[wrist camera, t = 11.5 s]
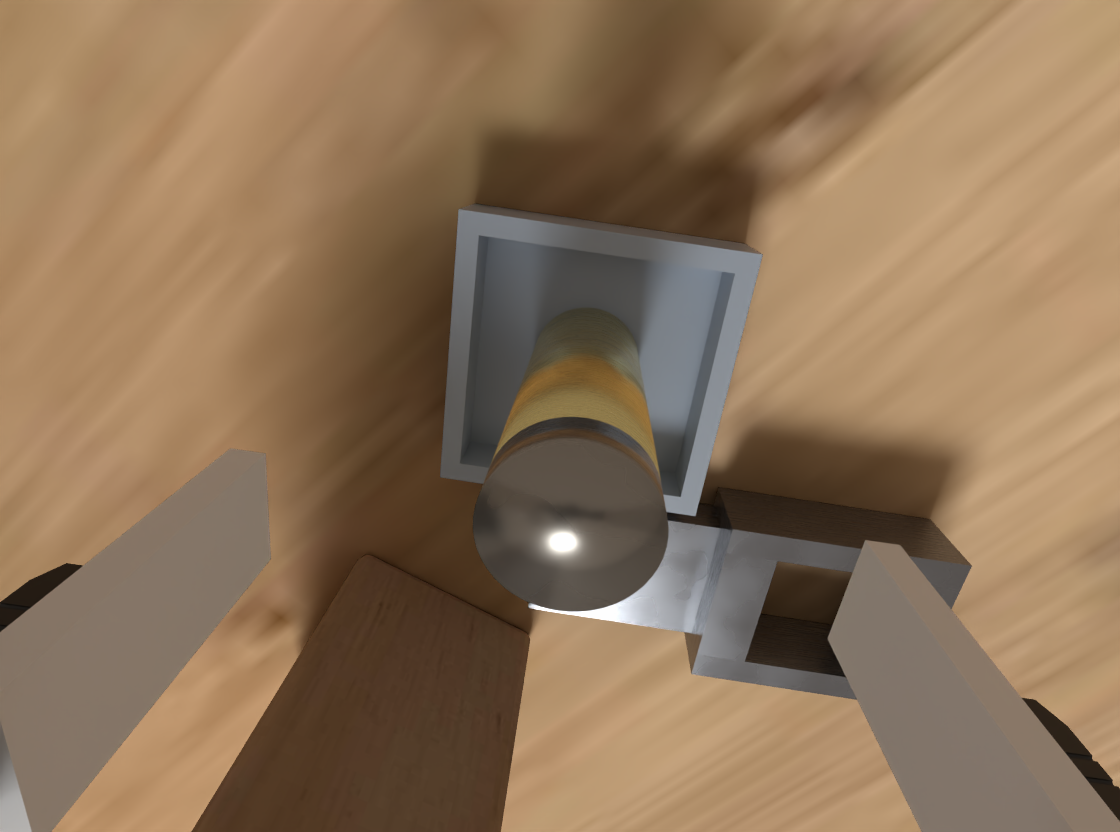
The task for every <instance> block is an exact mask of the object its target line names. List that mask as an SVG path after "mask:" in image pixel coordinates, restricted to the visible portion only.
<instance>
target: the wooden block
mask: <svg viewBox="0 0 1120 832" xmlns="http://www.w3.org/2000/svg"><path fill="white" fill-rule="evenodd" d="M529 644H530V638H529V636H528V635H527V634H526V633H525V632H524V631H522V630H520V629H518V628H516V627H514V626H512V625H510V624H508V623H506V622H504V621H502V620H500V619H498V618H496V617H494V616H492V615H490V614H488V613H486V612H484V611H482V610H480V609H478V608H476V607H474V606H472V605H470V604H468V603H466V602H464V601H462V600H460V599H458V598H456V597H454V596H452V595H450V594H448V593H446V592H444V591H442V590H440V589H438V588H436V587H434V586H432V585H430V584H428V583H425V582H423V581H421V580H419V579H417V578H415V577H413V576H411V575H409V574H407V573H405V572H403V571H401V570H399V569H397V568H395V567H393V566H391V565H389V564H387V563H385V562H383V561H381V560H379V559H377V558H375V557H373V556H371V555H364V556H363V557H362V558H360V559H359V560H357V562H356V564H355V565H354V567H353V569H352V570H351V572H350V573H349V575H348V577H347V578H346V580H345V582H344V583H343V585H342V586H341V588H340V590H339V591H338V593H337V595H336V596H335V598H334V600H333V601H332V603H331V604H330V606H329V608H328V609H327V611H326V613H325V614H324V616H323V618H322V619H321V621H320V622H319V624H318V626H317V627H316V629H315V631H314V632H313V634H312V636H311V637H310V639H309V640H308V642H307V644H306V645H305V647H304V649H303V650H302V652H301V654H300V655H299V657H298V658H297V660H296V662H295V663H294V665H293V667H292V668H291V670H290V672H289V673H288V675H287V676H286V678H285V680H284V681H283V683H282V685H281V686H280V688H279V690H278V691H277V693H276V694H275V696H274V698H273V699H272V701H271V703H270V704H269V706H268V708H267V709H266V711H265V712H264V714H263V716H262V717H261V719H260V721H259V722H258V724H257V726H256V727H255V729H254V730H253V732H252V734H251V735H250V737H249V739H248V740H247V742H246V744H245V745H244V747H243V748H242V750H241V752H240V753H239V755H238V757H237V758H236V760H235V762H234V763H233V765H232V766H231V768H230V770H229V771H228V773H227V775H226V776H225V778H224V779H223V781H222V783H221V784H220V786H219V788H218V789H217V791H216V793H215V794H214V796H213V797H212V799H211V801H210V802H209V804H208V806H207V807H206V809H205V811H204V812H203V814H202V815H201V817H200V819H199V820H198V822H197V824H196V825H195V827H194V829H193V830H192V832H501V826H502V820H503V813H504V807H505V800H506V794H507V787H508V781H509V774H510V768H511V761H512V755H513V748H514V742H515V735H516V729H517V722H518V716H519V709H520V703H521V696H522V690H523V683H524V677H525V670H526V664H527V657H528V651H529Z"/></svg>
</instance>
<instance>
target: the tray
mask: <svg viewBox="0 0 1120 832" xmlns="http://www.w3.org/2000/svg"><path fill="white" fill-rule="evenodd" d="M762 255H763V254H761V253H759V252H758V251H756V250H755V249H753V248H751V247H750V246H748V245H747V244H744V243H737V242H730V241H723V240H717V239H710V238H703V237H697V236H690V235H683V234H676V233H670V232H663V231H656V230H650V229H643V228H636V227H629V226H623V225H616V224H609V223H603V222H596V221H589V220H582V219H576V218H569V217H562V216H556V215H549V214H542V213H535V212H529V211H522V210H515V209H508V208H502V207H495V206H488V205H482V204H472V205H469V206H466V207H464V208H461V209H459V212H458V227H457V241H456V255H455V270H454V284H453V299H452V313H451V327H450V342H449V356H448V370H447V385H446V399H445V413H444V428H443V442H442V457H441V471H440V477H441V478H448V479H454V480H461V481H467V482H474V483H481V484H483V483H484V481H485V478H486V475H487V473H488V470H489V467H490V465H491V462H492V459H493V457H494V454H495V451H496V449H497V446H498V443H499V441H500V438H501V435H502V433H503V430H504V427H505V425H506V422H507V419H508V417H509V414H510V411H511V409H512V406H513V404H514V401H515V398H516V396H517V393H518V390H519V388H520V385H521V382H522V380H523V377H524V374H525V372H526V369H527V366H528V364H529V361H530V358H531V356H532V353H533V350H534V348H535V345H536V342H537V340H538V337H539V335H540V334H541V332H542V330H543V329H544V327H545V326H546V325H547V324H548V323H549V322H550V321H551V320H552V319H553V318H555V317H556V316H558V315H559V314H561V313H563V312H566V311H568V310H571V309H576V308H585V307H588V308H596V309H601V310H604V311H606V312H609V313H611V314H613V315H614V316H616V317H617V318H619V319H620V320H621V321H622V322H623V323H624V324H625V325H626V326H627V327H628V329H629V330H630V332H631V333H632V335H633V337H634V339H635V342H636V346H637V350H638V356H639V361H640V367H641V372H642V378H643V384H644V389H645V395H646V400H647V406H648V411H649V417H650V423H651V428H652V434H653V439H654V445H655V450H656V456H657V462H658V467H659V473H660V478H661V484H662V489H663V495H664V501H665V506H666V512H671V513H677V514H684V515H690V516H696V512H697V508H698V504H699V500H700V496H701V493H702V489H703V485H704V481H705V477H706V473H707V469H708V465H709V462H710V458H711V454H712V450H713V446H714V442H715V438H716V434H717V430H718V427H719V423H720V419H721V415H722V411H723V407H724V403H725V399H726V395H727V392H728V388H729V384H730V380H731V376H732V372H733V368H734V364H735V360H736V357H737V353H738V349H739V345H740V341H741V337H742V333H743V329H744V325H745V322H746V318H747V314H748V310H749V306H750V302H751V298H752V294H753V290H754V287H755V283H756V279H757V275H758V271H759V267H760V263H761V259H762Z"/></svg>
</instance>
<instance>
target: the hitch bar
mask: <svg viewBox="0 0 1120 832" xmlns="http://www.w3.org/2000/svg"><path fill="white" fill-rule="evenodd" d="M667 518H668V525H669V533H668V543H667V548H666V551H665V554H664V557H663V560H662V562H661V564H660V566H659V568H658V569H657V571H656V572H655V573H654V575H653V576H652V578H651V579H650V580H649V581H648V582H647V583H646V584H645V585H644V586H643V587H642V588H641V589H639V590H638V591H637V592H636V593H634V594H633V595H631V596H630V597H628V598H626V599H625V600H623V601H620V602H618V603H616V604H614V605H611V606H608V607H605V608H601V609H596V610H592V611H582V612H566V611H557V610H552V609H547V608H543V607H540V606H537V605H534V604H531V603H529V605H528V608H531V609H538V610H544V611H551V612H557V613H564V614H570V615H577V616H583V617H590V618H596V619H603V620H609V621H616V622H622V623H629V624H635V625H642V626H648V627H655V628H661V629H668V630H674V631H681V632H684V633H685V639H686V644H687V650H688V656H689V662H690V668H691V674H695V675H701V676H707V677H714V678H720V679H727V680H733V681H740V682H746V683H753V684H759V685H766V686H772V687H779V688H785V689H791V690H798V691H804V692H811V693H817V694H824V695H830V696H837V697H843V698H850V699H856V700H857V698H856V696H855V694H854V692H853V690H852V688H851V686H850V684H849V682H848V680H847V678H846V676H845V674H844V672H843V670H842V668H841V666H840V664H839V661H838V659H837V657H836V655H835V653H834V651H833V649H832V647H831V645H830V643H829V641H828V636H829V633H830V631H831V628H832V626H833V625H829V624H823V623H816V622H810V621H803V620H797V619H790V618H784V617H777V616H771V615H764V614H760V613H761V610H762V607H763V604H764V601H765V598H766V595H767V592H768V589H769V586H770V583H771V580H772V577H773V574H774V571H775V568H776V565H777V562H778V561H780V562H787V563H793V564H800V565H806V566H813V567H819V568H826V569H833V570H839V571H846V572H852V573H853V571H854V568H855V566H856V563H857V560H858V558H859V555H860V553H861V550H862V547H863V545H864V542H865V540H869V541H875V542H882V543H889V544H896V545H900V546H901V547H902V548H903V549H904V551H905V552H906V553H907V554H908V556H909V557H910V558H911V559H912V561H913V562H914V563H915V564H916V566H917V567H918V568H919V570H920V571H921V572H922V573H923V575H924V576H925V577H926V578H927V580H928V581H929V582H930V583H931V585H932V586H933V587H934V588H935V590H936V591H937V592H938V593H939V595H940V596H941V597H942V598H943V600H944V601H945V602H946V603H947V605H948V606H949V607H950V609H952V607H953V605H954V602H955V600H956V598H957V596H958V594H959V592H960V590H961V588H962V586H963V583H964V581H965V579H966V577H967V575H968V573H969V571H970V569H971V567H972V565H971V564H970V563H969V562H968V561H967V560H966V559H965V558H964V557H963V555H962V554H961V553H960V552H959V551H958V550H957V549H956V548H955V546H954V545H953V544H952V543H951V542H950V541H949V540H948V539H947V538H946V536H945V535H944V534H943V533H942V532H941V531H940V530H939V529H938V528H937V526H936V525H935V524H934V523H933V522H932V521H931V520H930V519H924V518H917V517H911V516H904V515H897V514H891V513H884V512H878V511H871V510H865V509H858V508H851V507H845V506H838V505H832V504H825V503H819V502H812V501H805V500H799V499H792V498H786V497H779V496H773V495H766V494H759V493H753V492H746V491H740V490H733V489H727V488H720V487H718V491H717V495H716V499H715V502H714V506H713V505H707V504H700V503H699V504H698V508H697V512H696V516H690V515H684V514H677V513H671V512H667Z"/></svg>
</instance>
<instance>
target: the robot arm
mask: <svg viewBox="0 0 1120 832" xmlns="http://www.w3.org/2000/svg"><path fill="white" fill-rule="evenodd" d="M270 559H271V553H270V532H269V512H268V492H267V472H266V453H259V452H252V451H245V450H238V449H231V448H230V449H229V450H228V451H226V452H225V453H224V454H223V455H221V456H220V457H219V458H218V459H216V460H215V461H214V462H213V463H211V464H210V465H209V466H208V467H206V468H205V469H204V470H203V471H201V472H200V473H199V474H198V475H196V476H195V477H194V478H193V479H191V480H190V481H189V482H188V483H186V484H185V485H184V486H183V487H181V488H180V489H179V490H178V491H176V492H175V493H174V494H173V495H171V496H170V497H169V498H168V499H166V500H165V501H164V502H163V503H161V504H160V505H159V506H158V507H156V508H155V509H154V510H153V511H151V512H150V513H149V514H148V515H146V516H145V517H144V518H143V519H141V520H140V521H139V522H137V523H136V524H135V525H134V526H132V527H131V528H130V529H129V530H127V531H126V532H125V533H124V534H122V535H121V536H120V537H119V538H117V539H116V540H115V541H114V542H112V543H111V544H110V545H109V546H107V547H106V548H105V549H104V550H102V551H101V552H100V553H99V554H97V555H96V556H95V557H94V558H92V559H91V560H90V561H89V562H87V563H86V564H85V565H84V566H82V565H75V564H68V563H66V564H64V565H62V566H60V567H57V568H55V569H53V570H51V571H49V572H47V573H44V574H42V575H40V576H38V577H36V578H34V579H31V580H29V581H28V582H27V583H25V584H24V585H23V586H21V587H20V588H19V589H17V590H16V591H15V592H13V593H12V594H11V595H9V596H8V597H7V598H5V599H4V600H3V601H1V602H0V832H51V831H52V830H53V829H54V828H55V826H56V825H57V824H58V823H59V822H60V820H61V819H62V818H63V817H64V815H65V814H66V813H67V812H68V810H69V809H70V808H71V807H72V805H73V804H74V803H75V802H76V800H77V799H78V798H79V797H80V795H81V794H82V793H83V792H84V790H85V789H86V788H87V787H88V786H89V784H90V783H91V782H92V781H93V779H94V778H95V777H96V776H97V774H98V773H99V772H100V771H101V769H102V768H103V767H104V766H105V764H106V763H107V762H108V761H109V759H110V758H111V757H112V756H113V754H114V753H115V752H116V751H117V749H118V748H119V747H120V746H121V745H122V743H123V742H124V741H125V740H126V738H127V737H128V736H129V735H130V733H131V732H132V731H133V730H134V728H135V727H136V726H137V725H138V723H139V722H140V721H141V720H142V718H143V717H144V716H145V715H146V713H147V712H148V711H149V710H150V709H151V707H152V706H153V705H154V704H155V702H156V701H157V700H158V699H159V697H160V696H161V695H162V694H163V692H164V691H165V690H166V689H167V687H168V686H169V685H170V684H171V682H172V681H173V680H174V679H175V677H176V676H177V675H178V674H179V672H180V671H181V670H182V669H183V668H184V666H185V665H186V664H187V663H188V661H189V660H190V659H191V658H192V656H193V655H194V654H195V653H196V651H197V650H198V649H199V648H200V646H201V645H202V644H203V643H204V641H205V640H206V639H207V638H208V636H209V635H210V634H211V633H212V632H213V630H214V629H215V628H216V627H217V625H218V624H219V623H220V622H221V620H222V619H223V618H224V617H225V615H226V614H227V613H228V612H229V610H230V609H231V608H232V607H233V605H234V604H235V603H236V602H237V600H238V599H239V598H240V597H241V595H242V594H243V593H244V592H245V591H246V589H247V588H248V587H249V586H250V584H251V583H252V582H253V581H254V579H255V578H256V577H257V576H258V574H259V573H260V572H261V571H262V569H263V568H264V567H265V566H266V564H267V563H268V562H269V561H270ZM828 641H829V643H830V645H831V647H832V649H833V651H834V653H835V655H836V657H837V659H838V661H839V664H840V666H841V668H842V670H843V672H844V674H845V676H846V678H847V680H848V682H849V684H850V686H851V688H852V690H853V692H854V694H855V696H856V698H857V700H858V702H859V704H860V707H861V709H862V711H863V713H864V715H865V717H866V719H867V721H868V723H869V725H870V727H871V729H872V731H873V733H874V735H875V737H876V739H877V741H878V743H879V745H880V748H881V750H882V752H883V754H884V756H885V758H886V760H887V762H888V764H889V766H890V768H891V770H892V772H893V774H894V776H895V778H896V780H897V782H898V784H899V786H900V788H901V791H902V793H903V795H904V797H905V799H906V801H907V803H908V805H909V807H910V809H911V811H912V813H913V815H914V817H915V819H916V821H917V823H918V825H919V827H920V829H921V831H922V832H1120V788H1119V787H1117V786H1114V785H1113V783H1112V781H1113V780H1112V779H1111V778H1110V776H1109V775H1108V774H1107V773H1106V772H1105V770H1104V769H1103V768H1102V767H1101V766H1100V764H1099V763H1098V762H1096V761H1093V760H1092V755H1091V754H1090V752H1089V751H1088V750H1087V749H1086V748H1085V746H1084V745H1083V744H1082V743H1081V742H1080V741H1079V739H1078V738H1077V737H1076V736H1075V735H1074V733H1073V732H1072V731H1071V730H1070V729H1069V727H1068V726H1067V725H1065V724H1064V723H1063V722H1062V721H1060V720H1059V719H1058V718H1057V717H1056V716H1054V715H1053V714H1052V713H1051V712H1049V711H1048V710H1047V709H1046V708H1045V707H1043V706H1042V705H1041V704H1040V703H1038V702H1037V701H1036V700H1033V699H1026V698H1021V697H1020V695H1019V694H1018V693H1017V692H1016V690H1015V689H1014V688H1013V687H1012V685H1011V684H1010V683H1009V682H1008V680H1007V679H1006V678H1005V676H1004V675H1003V674H1002V673H1001V671H1000V670H999V669H998V668H997V666H996V665H995V664H994V663H993V661H992V660H991V659H990V658H989V656H988V655H987V654H986V653H985V651H984V650H983V649H982V648H981V646H980V645H979V644H978V642H977V641H976V640H975V639H974V637H973V636H972V635H971V634H970V632H969V631H968V630H967V629H966V627H965V626H964V625H963V624H962V622H961V621H960V620H959V619H958V617H957V616H956V615H955V614H954V612H953V611H952V610H951V609H950V607H949V606H948V605H947V603H946V602H945V601H944V600H943V598H942V597H941V596H940V595H939V593H938V592H937V591H936V590H935V588H934V587H933V586H932V585H931V583H930V582H929V581H928V580H927V578H926V577H925V576H924V575H923V573H922V572H921V571H920V570H919V568H918V567H917V566H916V564H915V563H914V562H913V561H912V559H911V558H910V557H909V556H908V554H907V553H906V552H905V551H904V549H903V548H902V547H901V546H900V545H896V544H889V543H882V542H875V541H869V540H865V542H864V545H863V547H862V550H861V553H860V555H859V558H858V560H857V563H856V566H855V568H854V571H853V573H852V576H851V579H850V581H849V584H848V586H847V589H846V592H845V594H844V597H843V599H842V602H841V605H840V607H839V610H838V612H837V615H836V618H835V620H834V623H833V626H832V628H831V631H830V633H829V636H828Z"/></svg>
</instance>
